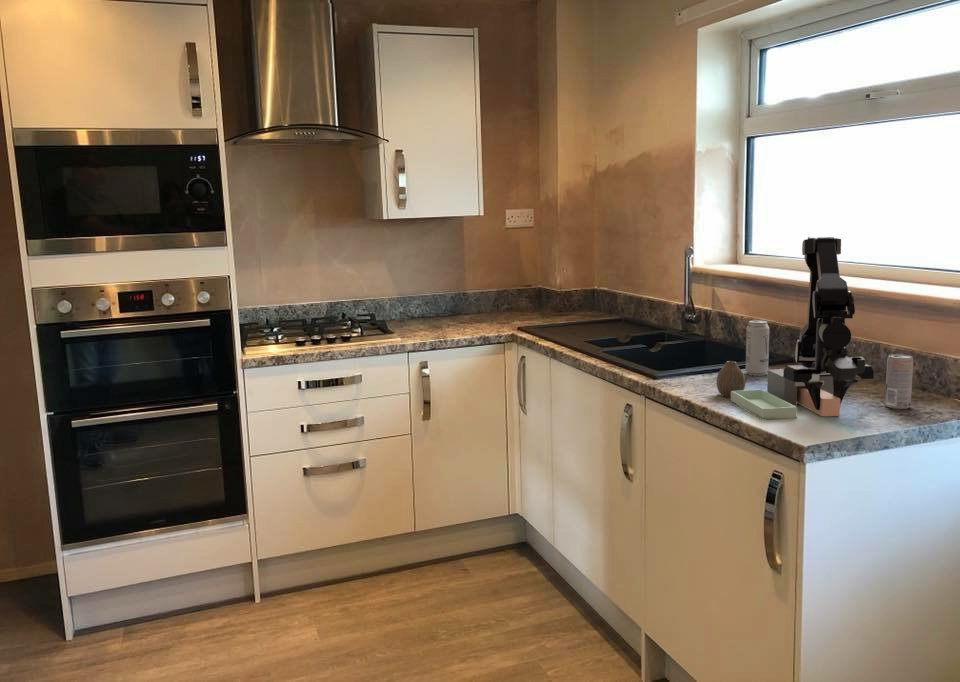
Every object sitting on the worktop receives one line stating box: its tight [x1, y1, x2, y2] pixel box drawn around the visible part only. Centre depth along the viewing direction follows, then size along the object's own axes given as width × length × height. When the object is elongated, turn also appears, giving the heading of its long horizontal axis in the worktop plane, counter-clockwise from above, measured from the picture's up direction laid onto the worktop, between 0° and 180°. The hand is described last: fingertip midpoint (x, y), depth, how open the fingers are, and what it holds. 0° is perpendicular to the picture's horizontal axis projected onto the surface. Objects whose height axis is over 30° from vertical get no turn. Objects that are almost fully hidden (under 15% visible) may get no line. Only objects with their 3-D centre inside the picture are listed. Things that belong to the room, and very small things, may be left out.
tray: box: [730, 388, 798, 420], centre depth 189 cm, size 18×8×2 cm, turn 5°
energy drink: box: [884, 353, 914, 410], centre depth 187 cm, size 5×5×12 cm
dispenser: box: [766, 368, 833, 407], centre depth 195 cm, size 10×12×7 cm
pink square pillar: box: [797, 386, 841, 417], centre depth 187 cm, size 14×4×4 cm, turn 2°
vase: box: [716, 360, 746, 398], centre depth 202 cm, size 7×7×9 cm
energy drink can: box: [745, 319, 770, 377], centre depth 226 cm, size 6×6×15 cm
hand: (826, 409), depth 183 cm, fingers closed on pink square pillar, 4 cm apart
